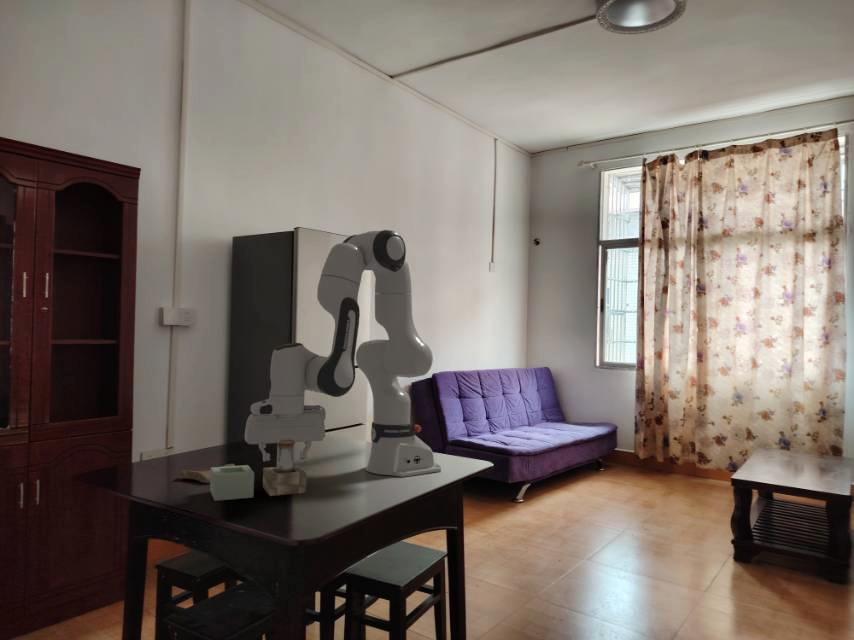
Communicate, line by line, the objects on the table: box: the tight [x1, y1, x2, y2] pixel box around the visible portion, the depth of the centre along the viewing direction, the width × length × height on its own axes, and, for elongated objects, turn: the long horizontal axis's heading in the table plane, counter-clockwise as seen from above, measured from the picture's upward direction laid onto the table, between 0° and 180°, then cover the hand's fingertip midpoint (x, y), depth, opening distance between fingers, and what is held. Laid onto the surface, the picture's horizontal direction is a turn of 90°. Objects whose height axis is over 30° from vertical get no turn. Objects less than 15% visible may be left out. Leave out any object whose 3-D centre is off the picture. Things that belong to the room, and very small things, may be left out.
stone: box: [178, 463, 236, 484], centre depth 168 cm, size 11×16×3 cm
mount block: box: [262, 465, 307, 497], centre depth 157 cm, size 9×9×5 cm
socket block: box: [209, 464, 255, 502], centre depth 152 cm, size 9×9×6 cm
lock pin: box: [275, 440, 296, 473], centre depth 158 cm, size 5×5×13 cm
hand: (284, 459), depth 158 cm, fingers open, 8 cm apart
